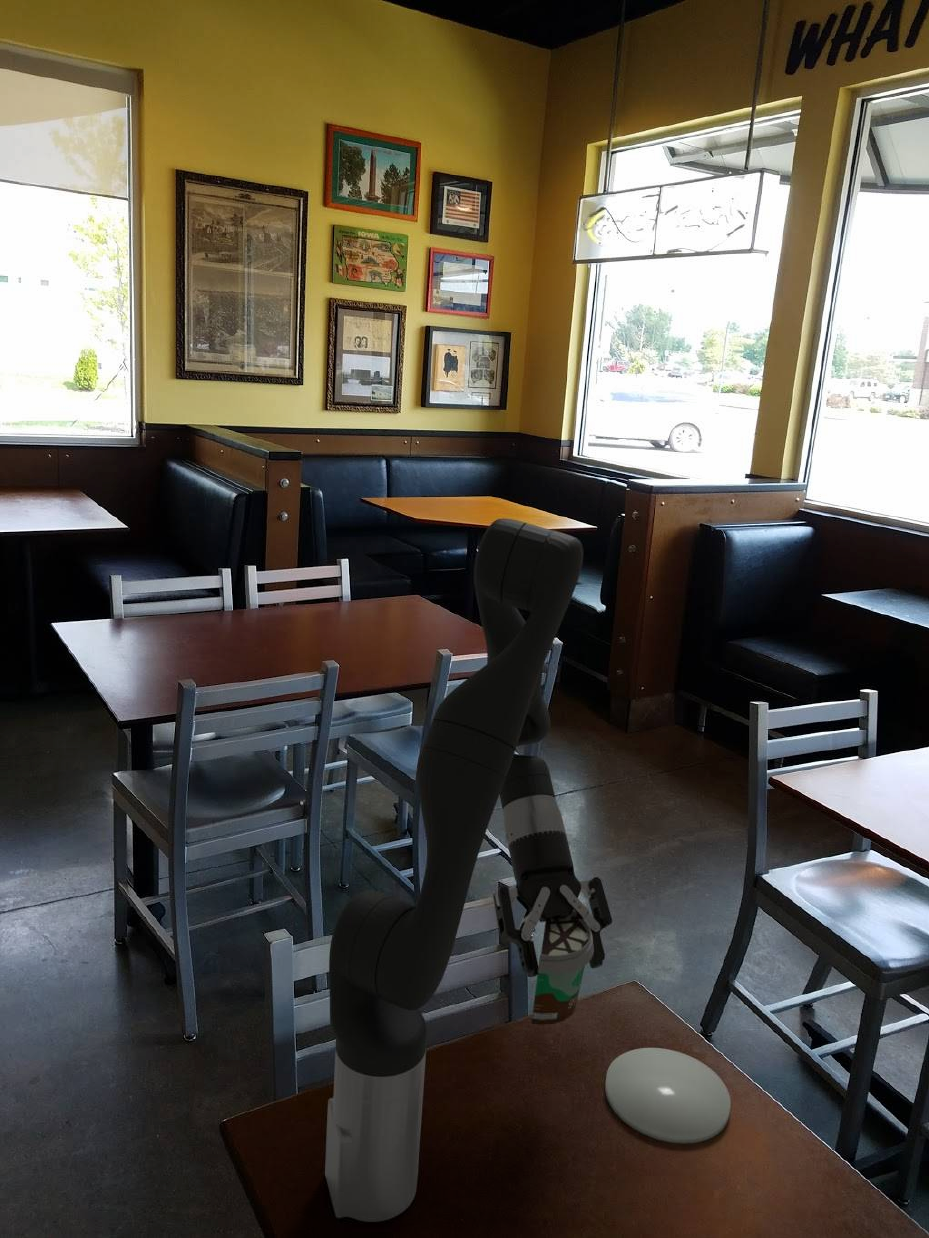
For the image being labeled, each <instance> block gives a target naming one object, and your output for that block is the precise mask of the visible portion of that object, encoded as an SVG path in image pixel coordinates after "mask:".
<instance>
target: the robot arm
mask: <svg viewBox="0 0 929 1238" xmlns="http://www.w3.org/2000/svg"><path fill="white" fill-rule="evenodd" d="M583 561H584V548H583V544H582V542H581V540H580V539H578V538H577V537H574V536H572V535H569V534H567V533H563V532H560V531H557V530H552V529H549V528H546V527H542V526H538V525H535V524H531V523H527V522H524V521H520V520H517V519H514V518H513V519H512V518H504V517H502V518H497V519H496V520H494V521H492V522H491V524H489V526H488V527H487V528H486V530H485V532H484V534H483V536H482V538H481V540H480V543H479V546H478V548H477V552H476V556H475V561H474V569H473V570H474V573H473V582H474V590H475V597H476V601H477V607H478V611H479V617H480V622H481V623H480V624H481V628H482V630H483V635H484V639H485V640H484V641H485V646H486V655H487V656H486V659H487V662H486V665H483V667H481V668H480V669H478V670H477V671H476V672H474V673H473V674H472V675H471V676H469V677H467V679H465V680H464V681H462V682H461V683H460V684H459V685H458V686H457V687H455V688H454V689H453V690H452V691H451V692H449V694H447V696H446V697H445V698H444V699H443V700H442V701H441V702H440V703H439V705H438V707H437V708H436V710H435V713H434V715H433V717H432V721H431V724H430V726H429V729H428V732H427V734H426V737H425V739H424V743H423V744H422V748H421V750H420V753H419V756H418V760H417V765H416V781H417V782H416V783H417V792H418V799H419V805H420V810H421V815H422V820H423V826H424V832H425V839H426V861H425V862H426V864H425V871H424V876H423V879H422V885H421V889H420V891H419V895H418V899H417V901H416V904H415V905H414V904H412V903H410V902H407V901H404V900H402V899H399V898H396V897H394V896H392V895H390V894H389V895H388V894H386V893H384V892H381V891H377V890H374V889H373V890H372V889H371V890H363V891H361V892H359V893H357V894H356V895H353V896H352V897H351V899H349V901H347V903H346V904H345V905H344V906H343V908H342V909H341V911H340V913H339V915H338V917H337V920H336V922H335V925H334V928H333V931H332V934H331V935H332V936H331V940H330V946H329V956H328V959H329V960H328V979H329V982H328V983H329V984H328V985H329V987H328V989H329V1023H330V1028H331V1031H332V1034H333V1035H334V1037H335V1056H334V1058H335V1059H334V1075H333V1076H334V1077H333V1080H334V1081H333V1097H331V1098H329V1099H328V1100H327V1115H326V1116H327V1119H326V1142H325V1164H324V1165H325V1166H324V1176H325V1180H326V1183H327V1187H328V1191H329V1194H330V1199H331V1203H332V1208H333V1210H334V1214H335V1215H334V1216H335V1218H337V1219H341V1218H350V1219H351V1218H352V1219H355V1220H357V1221H360V1222H366V1223H367V1222H368V1223H374V1222H375V1223H377V1222H383V1221H388V1220H391V1219H393V1218H396V1217H397V1216H399V1215H400V1214H402V1213H403V1212H405V1211H406V1210H407V1209H408V1208H409V1207H410V1206H411V1204H412V1202H413V1200H414V1199H415V1197H416V1193H417V1184H418V1179H419V1178H418V1177H419V1157H420V1156H419V1155H420V1144H421V1143H420V1142H421V1130H422V1129H421V1127H422V1115H423V1100H424V1088H425V1087H424V1085H425V1084H424V1083H425V1073H426V1071H425V1070H426V1054H427V1041H428V1040H427V1039H428V1029H427V1022H426V1020H425V1016H424V1015H423V1014H422V1012H421V1011H420V1009H421V1008H422V1007H424V1006H426V1004H428V1002H429V1001H430V1000H431V999H432V997H433V996H434V994H435V993H436V991H437V990H438V988H439V986H440V984H441V981H442V980H443V977H444V976H445V973H446V970H447V968H448V964H449V962H450V959H451V956H452V953H453V948H454V944H455V941H456V937H457V935H458V930H459V927H460V922H461V920H462V915H463V911H464V908H465V905H466V900H467V896H468V891H469V887H470V884H471V881H472V876H473V873H474V869H475V865H476V863H477V860H478V857H479V853H480V850H481V847H482V844H483V841H484V839H485V836H486V832H487V830H488V826H489V824H490V821H491V819H492V815H493V813H494V810H495V807H496V805H497V802H498V800H499V799H500V803H501V809H502V815H503V816H502V817H503V828H504V833H505V842H506V843H507V847H508V852H509V856H510V857H509V858H510V862H511V867H512V872H513V876H514V879H515V884H516V886H515V888H509V889H508V887H506V886H501V887H500V888H499V889H498V890H497V891H496V892H494V893H493V903H494V909H495V917H496V921H497V928H498V933H499V939H500V941H501V942H504V943H506V942H508V943H513V944H514V945H516V946H517V947H516V948H517V952H518V956H519V960H520V961H519V962H520V966H521V970H522V972H523V973H525V974H526V973H527V977H528V978H533V977H536V976H538V967H539V962H538V958H537V953H536V948H535V944H534V941H533V940H531V939H532V936H533V932H534V930H535V928H536V926H537V924H538V923H544V922H546V921H547V920H549V919H552V918H554V919H563V918H566V917H567V916H569V915H570V914H571V913H572V911H575V912H576V913H577V915H576V916H575V918H576V919H583V918H584V920H585V921H586V922H587V923H588V925H589V927H590V930H591V933H592V936H593V946H594V953H593V956H592V958H591V960H590V961H589V962H588V963H589V966H590V968H591V969H598V968H600V967H603V964H604V963H603V962H604V960H605V957H606V954H605V950H604V946H603V942H602V938H601V931H602V930H603V929H605V928H607V927H609V926H610V925H611V924H612V922H613V918H612V914H611V911H610V907H609V903H608V900H607V897H606V894H605V890H604V886H603V883H602V880H601V878H600V877H599V876H594V877H593V878H591V879H589V880H583V881H579V879H578V878H577V877H576V874H575V868H574V862H573V858H572V853H571V850H570V844H569V841H568V837H567V832H566V828H565V823H564V820H563V816H562V812H561V810H560V807H559V805H558V802H557V799H556V794H555V790H554V789H555V788H554V786H553V780H552V777H551V773H550V769H549V767H548V764H547V762H546V761H545V760H544V759H543V758H541V757H538V756H532V755H525V754H518V753H516V749H517V748H518V747H520V746H527V745H533V744H537V743H539V742H541V741H543V740H544V739H545V737H546V736H547V735H548V734H549V733H550V728H551V717H550V713H549V709H548V706H547V704H546V701H545V700H544V699H545V698H544V697H543V694H542V681H543V673H544V665H545V662H546V659H547V658H548V655H549V652H550V651H551V647H552V645H553V643H554V641H555V638H556V636H557V635H558V631H559V629H560V626H561V623H562V622H563V619H564V617H565V614H566V612H567V610H568V607H569V605H570V602H571V600H572V597H573V595H574V592H575V589H576V587H577V584H578V581H579V578H580V575H581V572H582V567H583ZM519 610H524V611H526V612H530V614H529V616H528V618H527V619H526V620H525V619H524V617H523V615H522V614H521V613H520V611H519ZM499 797H500V798H499ZM581 893H582V894H583V896H584V898H586V899H587V900H588V902H589V903H588V904H589V907H590V910H591V911H589V908H588V907H586V906H585V905H584V904H583V902H581V901H580V899H579V896H580V894H581ZM515 900H517V902H518V903H519V904H520V905H521V906H522V907H523V908H524V909H525V911H524V913H523V915H522V919H521V920H520V923H519V928H518V929H517V928H516V925H515V920H514V919H515V918H514V914H513V913H514V912H513V906H514V904H515ZM590 912H591V913H590Z"/></svg>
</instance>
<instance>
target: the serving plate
mask: <svg viewBox="0 0 929 1238" xmlns="http://www.w3.org/2000/svg"><path fill="white" fill-rule="evenodd" d="M605 1077H606V1078H605V1084H604V1086H605V1087H604V1088H605V1089H604V1092H605V1095H606V1098H607V1101H608V1103H609V1105H610V1107H611V1109H612V1110H613V1112H614V1113H615V1115H617V1116H618V1117H619V1118H620V1119H621V1120H622V1121H623V1122H624V1123H625V1124H626V1125H628V1126H630V1127H631V1128H632V1129H634V1130H636V1131H637V1132H639V1133H641V1134H643V1135H645V1136H648V1137H649V1138H652V1139H655V1140H658V1141H663V1142H667V1143H674V1144H685V1145H686V1144H695V1143H701V1142H705V1141H707V1140H709V1139H712V1138H714V1137H716V1136H717V1135H718V1134H720V1133H721V1132H722V1131H723V1130H724V1129H725V1127H726V1125H727V1124H728V1121H729V1118H730V1111H731V1105H732V1104H731V1097H730V1093H729V1090H728V1088H727V1086H726V1084H725V1083H724V1082H723V1080H722V1079H721V1077H720V1076H719V1075H718V1074H717V1073H716V1072H715V1071H714V1070H712V1068H710V1067H709V1066H707V1065H706V1064H704V1063H703V1062H702V1061H700V1060H698V1059H697V1058H694V1057H692V1056H690V1055H688V1054H686V1053H683V1052H680V1051H677V1050H672V1049H668V1048H660V1047H641V1048H636V1049H632V1050H629V1051H626V1052H624V1053H622V1054H620V1055H618V1056H617V1057H616V1058H615V1059H613V1061H612V1062H611V1063H610V1065H609V1066H608V1069H607V1071H606V1076H605Z"/></svg>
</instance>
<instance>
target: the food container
mask: <svg viewBox="0 0 929 1238" xmlns="http://www.w3.org/2000/svg"><path fill="white" fill-rule="evenodd" d="M576 915H577V913H576V912H575V911H572V913H571V914H570V915H569V916H567V917H566V918H563V919H554V918H552V919H549V920H547V921H546V922H545V923H544V928H543V929H544V930H543V937H542V945H541V951H540V952H541V953H540V955H539V962H538V975H536V976H537V978H536V983H535V992H534V1001H533V1007H532V1008H533V1009H532V1016H531V1021H530V1022H531V1024H532V1025H538V1026H542V1025H545V1026H546V1025H555V1024H559V1023H561V1022H565V1021H566V1020H567V1019H568V1018H570V1017H571V1016H572V1015H573V1014H574V1012H575V1010H576V1006H577V1002H578V997H579V992H580V989H581V985H582V981H583V976H584V971H585V968H586V965H588V963H589V961H590V960H591V958H592V956H593V953H594V946H593V936H592V933H591V930H590V927H589V925H588V923H587V922H586V921H585V920H584V918H583V919H576V918H575V916H576Z"/></svg>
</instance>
